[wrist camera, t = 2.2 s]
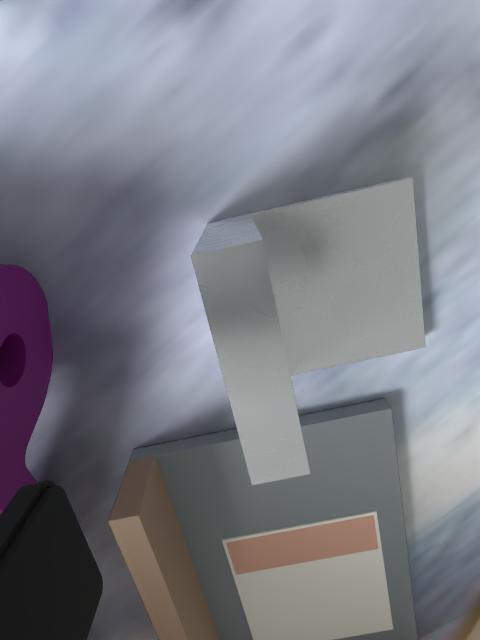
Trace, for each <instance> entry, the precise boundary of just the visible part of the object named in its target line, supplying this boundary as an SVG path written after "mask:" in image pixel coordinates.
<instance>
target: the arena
mask: <svg viewBox="0 0 480 640" xmlns="http://www.w3.org/2000/svg"><path fill="white" fill-rule="evenodd" d="M299 421H300V426H301V431H302V435H303V440H304V445H305V450H306V455H307V460H308V465H309V470H310V474H308V475H303V476H298V477H293V478H287V479H282V480H277V481H272V482H267V483H262V484H256V485H252V483H251V479H250V476H249V472H248V468H247V464H246V461H245V457H244V453H243V449H242V446H241V442H240V438H239V434H238V431H237V428H236V429H231V430H226V431H221V432H216V433H211V434H206V435H201V436H196V437H191V438H186V439H182V440H177V441H172V442H167V443H162V444H157V445H152V446H147V447H142V448H137V449H134V450H133V453H132V455H131V458H130V461H129V464H128V467H127V469H126V472H125V475H124V478H123V480H122V483H121V486H120V489H119V492H118V494H117V497H116V500H115V503H114V506H113V508H112V511H111V514H110V517H109V520H108V523H109V525H110V528H111V530H112V532H113V534H114V537H115V539H116V541H117V544H118V546H119V548H120V551H121V553H122V555H123V557H124V560H125V562H126V564H127V567H128V569H129V571H130V574H131V576H132V578H133V580H134V583H135V585H136V587H137V590H138V592H139V594H140V597H141V599H142V601H143V604H144V606H145V608H146V610H147V613H148V615H149V617H150V620H151V622H152V624H153V627H154V629H155V631H156V633H157V636H158V638H159V640H418V639H417V630H416V621H415V612H414V603H413V594H412V586H411V577H410V568H409V559H408V550H407V542H406V533H405V524H404V515H403V506H402V498H401V489H400V480H399V471H398V462H397V454H396V445H395V436H394V427H393V418H392V409H391V407H390V406H389V404H388V403H387V401H386V400H385V398H384V399H379V400H374V401H369V402H364V403H359V404H354V405H349V406H344V407H339V408H334V409H329V410H325V411H320V412H315V413H310V414H305V415H300V416H299Z"/></svg>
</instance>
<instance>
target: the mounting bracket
mask: <svg viewBox="0 0 480 640" xmlns="http://www.w3.org/2000/svg"><path fill="white" fill-rule="evenodd" d="M52 360H53V350H52V342H51V333H50V324H49V315H48V307H47V301H46V298H45V296H44V293H43V291H42V289H41V287H40V285H39V284H38V282H37V281H36V279H35V278H34V277H33V276H32V275H31V274H30V273H29V272H28V271H27V270H25V269H23V268H22V267H19V266H16V265H4V264H0V515H1V513H2V512H3V511H4V509H5V508H6V506H7V505H8V504H9V502H10V501H11V500H12V498H13V497H14V495H15V494H16V493H17V491H18V490H19V489H20V488H21V487H22V486H25V485H29V484H34V483H37V482H36V480H35V479H34V478H33V476H32V475H31V474H30V472H29V471H28V469H27V468H26V465H25V453H26V448H27V445H28V442H29V440H30V437H31V435H32V432H33V430H34V427H35V425H36V422H37V420H38V417H39V415H40V412H41V410H42V407H43V404H44V401H45V398H46V394H47V390H48V386H49V382H50V376H51V369H52Z"/></svg>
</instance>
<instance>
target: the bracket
mask: <svg viewBox="0 0 480 640" xmlns="http://www.w3.org/2000/svg"><path fill="white" fill-rule="evenodd" d="M191 259H192V263H193V266H194V270H195V274H196V277H197V281H198V285H199V289H200V292H201V296H202V300H203V304H204V307H205V311H206V315H207V319H208V322H209V326H210V330H211V334H212V337H213V341H214V345H215V349H216V352H217V356H218V360H219V363H220V367H221V371H222V375H223V378H224V382H225V386H226V390H227V393H228V397H229V401H230V405H231V408H232V412H233V416H234V420H235V423H236V427H237V431H238V434H239V438H240V442H241V446H242V449H243V453H244V457H245V461H246V464H247V468H248V472H249V476H250V479H251V483H252V485H256V484H262V483H267V482H272V481H277V480H282V479H287V478H293V477H298V476H303V475H308V474H310V470H309V465H308V460H307V455H306V450H305V445H304V440H303V435H302V431H301V426H300V421H299V416H298V411H297V406H296V401H295V396H294V391H293V387H292V382H291V377H290V375H295V374H300V373H305V372H309V371H314V370H319V369H324V368H329V367H333V366H338V365H343V364H348V363H353V362H357V361H362V360H367V359H372V358H377V357H381V356H386V355H391V354H396V353H401V352H405V351H410V350H415V349H420V348H424V347H426V345H425V332H424V319H423V305H422V292H421V279H420V266H419V253H418V240H417V227H416V214H415V200H414V187H413V178H400V179H396V180H391V181H387V182H383V183H379V184H374V185H370V186H366V187H361V188H357V189H353V190H349V191H344V192H340V193H336V194H331V195H327V196H323V197H318V198H314V199H310V200H306V201H301V202H297V203H293V204H288V205H284V206H280V207H276V208H271V209H267V210H263V211H258V212H254V213H250V214H246V215H241V216H237V217H233V218H228V219H224V220H220V221H215V222H211V223H207V225H206V227H205V229H204V231H203V233H202V235H201V237H200V239H199V241H198V243H197V245H196V246H195V248H194V250H193V252H192V254H191Z"/></svg>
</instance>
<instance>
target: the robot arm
mask: <svg viewBox="0 0 480 640" xmlns="http://www.w3.org/2000/svg"><path fill="white" fill-rule="evenodd" d="M0 1H1V0H0ZM102 588H103V581H102V576H101V573H100V571H99V569H98V566H97V564H96V562H95V560H94V557H93V555H92V553H91V550H90V548H89V546H88V544H87V541H86V539H85V537H84V535H83V532H82V530H81V528H80V526H79V523H78V521H77V519H76V516H75V514H74V512H73V510H72V507H71V505H70V503H69V501H68V498H67V496H66V494H65V491H64V490H63V488H62V487H60V486H56V485H55V483H53V482H52V481H45V482H39V483H34V484H29V485H25V486H22V487H21V488H20V489H19V490H18V491H17V493H16V494H15V495H14V497H13V498H12V500H11V501H10V502H9V504H8V505H7V506H6V508H5V509H4V511H3V512H2V513H1V515H0V640H87V637H88V634H89V631H90V628H91V625H92V622H93V619H94V616H95V613H96V610H97V607H98V604H99V601H100V598H101V594H102Z"/></svg>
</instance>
